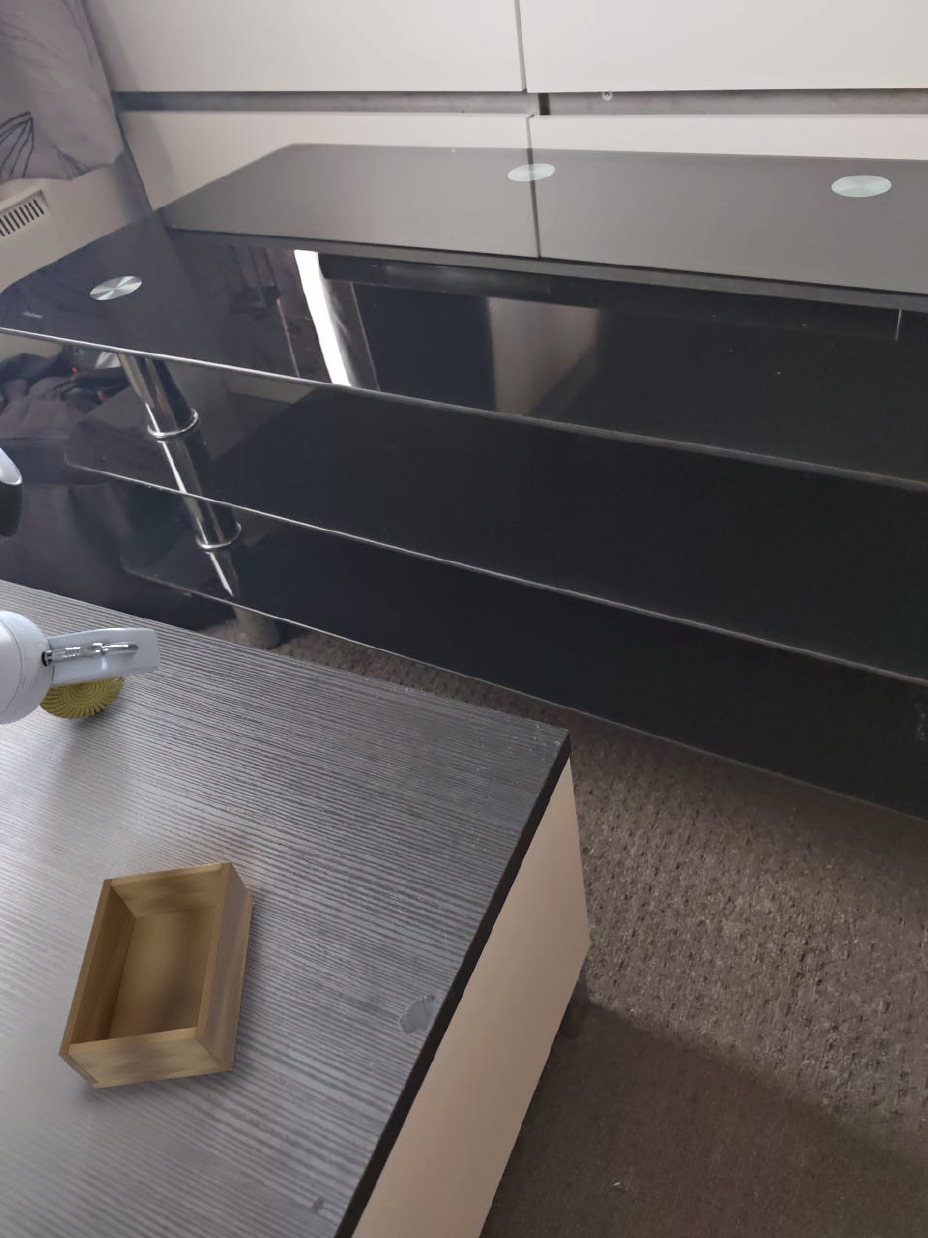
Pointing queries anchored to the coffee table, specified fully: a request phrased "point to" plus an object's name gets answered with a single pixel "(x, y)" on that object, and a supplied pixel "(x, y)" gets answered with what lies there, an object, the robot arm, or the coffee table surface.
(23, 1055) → the coffee table surface
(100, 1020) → the wooden box
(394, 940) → the coffee table surface
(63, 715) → the sculpture
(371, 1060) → the coffee table surface
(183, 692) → the coffee table surface
